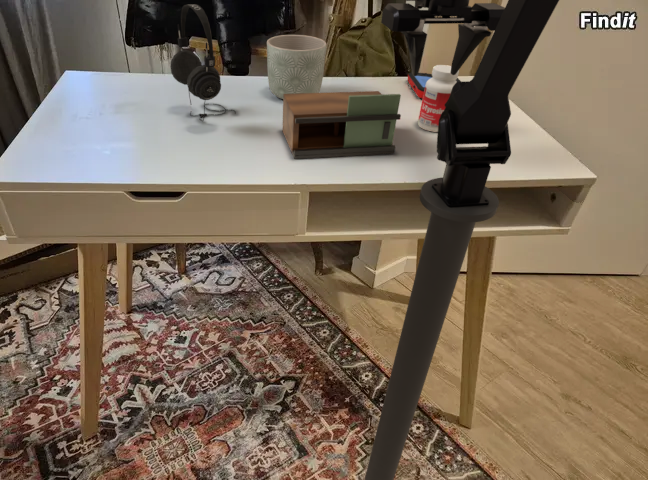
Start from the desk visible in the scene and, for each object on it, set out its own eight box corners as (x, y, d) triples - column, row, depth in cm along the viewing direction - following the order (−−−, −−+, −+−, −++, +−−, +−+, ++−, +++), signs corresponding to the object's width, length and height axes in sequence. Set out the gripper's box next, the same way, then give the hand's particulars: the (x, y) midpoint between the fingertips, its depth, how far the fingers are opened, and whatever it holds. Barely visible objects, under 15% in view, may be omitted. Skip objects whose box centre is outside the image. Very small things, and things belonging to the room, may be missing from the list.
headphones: (253, 126, 96) (252, 11, 83) (198, 136, 91) (188, 16, 79) (221, 100, 106) (216, -6, 93) (170, 108, 101) (157, -2, 89)
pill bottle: (412, 128, 97) (424, 69, 90) (423, 118, 102) (434, 61, 95) (443, 135, 95) (458, 75, 88) (453, 125, 99) (467, 67, 92)
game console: (475, 102, 109) (478, 92, 108) (417, 101, 109) (419, 91, 108) (456, 81, 121) (459, 71, 119) (404, 80, 120) (406, 70, 119)
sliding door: (392, 146, 88) (401, 95, 82) (344, 149, 87) (350, 97, 81) (390, 144, 89) (399, 93, 83) (343, 146, 87) (348, 95, 82)
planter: (280, 108, 103) (281, 52, 97) (257, 89, 112) (257, 37, 105) (332, 101, 108) (337, 47, 101) (307, 83, 116) (310, 32, 110)
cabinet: (394, 154, 88) (401, 115, 84) (294, 159, 85) (296, 119, 81) (373, 127, 97) (378, 90, 93) (282, 130, 94) (283, 93, 90)
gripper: (489, -44, 79) (464, 59, 89) (377, -45, 77) (364, 61, 86) (527, -33, 71) (495, 79, 81) (403, -34, 68) (385, 82, 78)
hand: (433, 74), depth 82 cm, fingers open, 6 cm apart
